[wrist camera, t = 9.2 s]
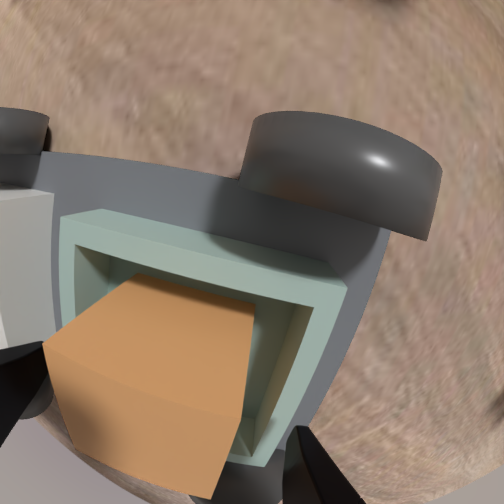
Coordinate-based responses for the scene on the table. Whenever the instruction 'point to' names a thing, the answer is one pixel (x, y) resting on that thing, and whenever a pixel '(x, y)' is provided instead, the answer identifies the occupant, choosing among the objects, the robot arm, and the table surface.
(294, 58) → the table surface
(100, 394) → the light orange block
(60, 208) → the toy car chassis
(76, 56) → the table surface
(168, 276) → the engine bay frame
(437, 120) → the table surface
